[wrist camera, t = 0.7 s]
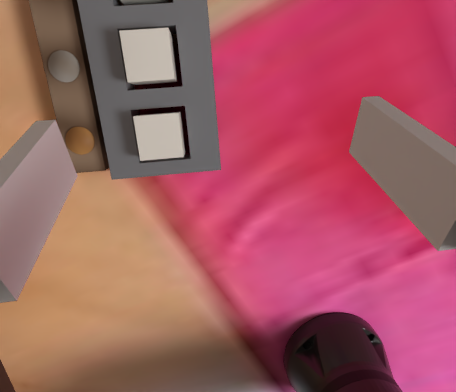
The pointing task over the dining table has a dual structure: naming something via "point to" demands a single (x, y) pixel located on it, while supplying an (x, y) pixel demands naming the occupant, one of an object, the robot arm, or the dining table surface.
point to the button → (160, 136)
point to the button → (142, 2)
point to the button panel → (159, 97)
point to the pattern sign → (70, 81)
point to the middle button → (148, 56)
